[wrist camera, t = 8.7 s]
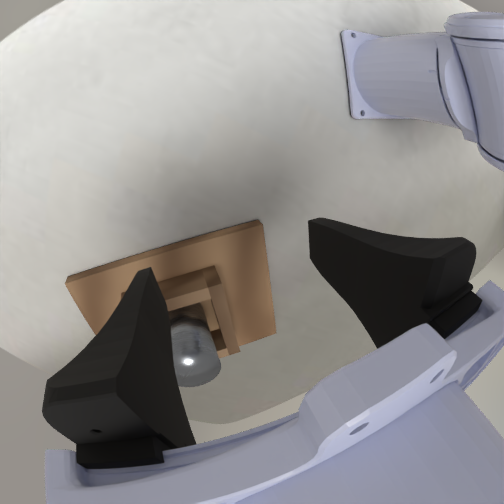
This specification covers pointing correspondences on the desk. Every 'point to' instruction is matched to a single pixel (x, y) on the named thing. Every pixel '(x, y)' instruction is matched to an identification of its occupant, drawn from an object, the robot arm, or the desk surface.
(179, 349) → the pin
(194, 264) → the socket board
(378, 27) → the desk surface
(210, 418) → the desk surface
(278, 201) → the desk surface
